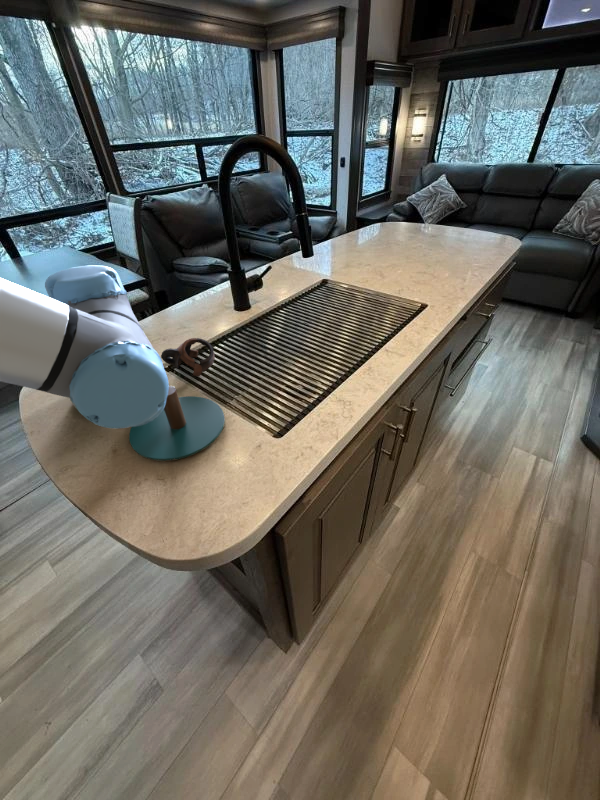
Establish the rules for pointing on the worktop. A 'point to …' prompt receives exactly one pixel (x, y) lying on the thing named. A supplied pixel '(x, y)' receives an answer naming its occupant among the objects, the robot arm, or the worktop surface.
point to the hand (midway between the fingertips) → (78, 312)
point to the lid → (179, 428)
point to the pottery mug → (189, 356)
